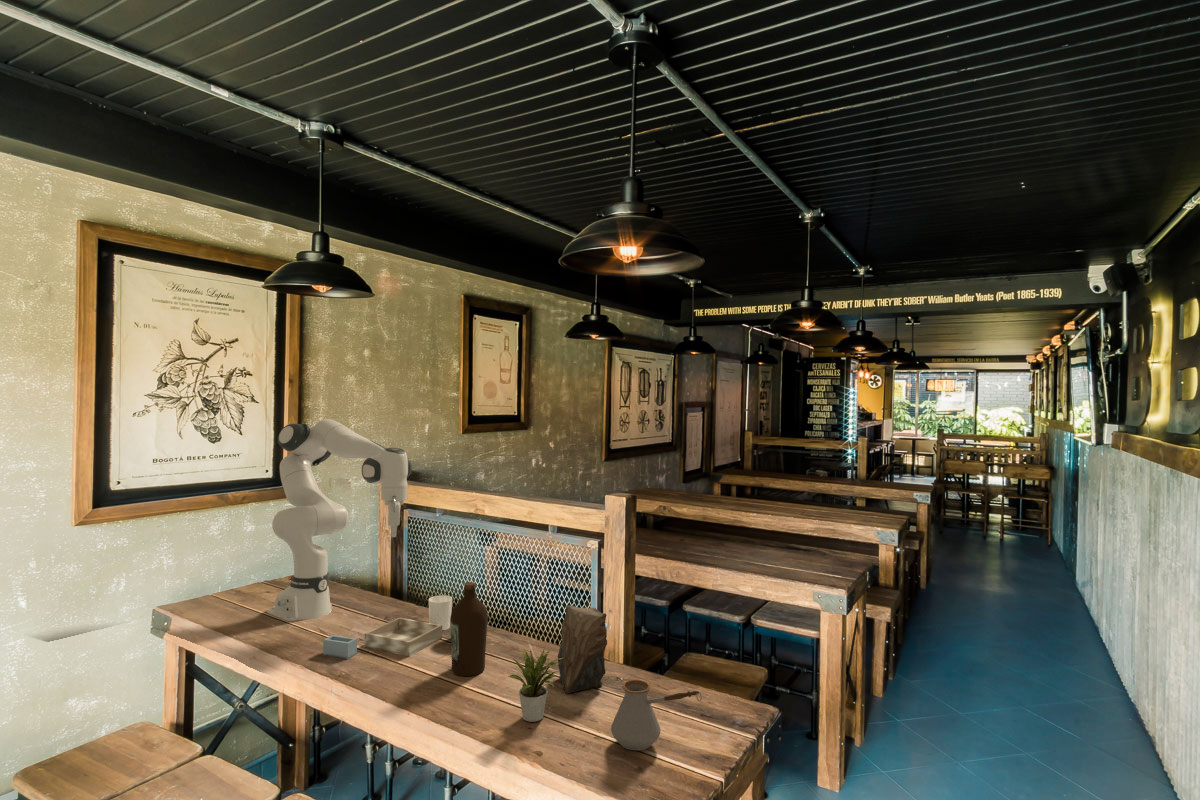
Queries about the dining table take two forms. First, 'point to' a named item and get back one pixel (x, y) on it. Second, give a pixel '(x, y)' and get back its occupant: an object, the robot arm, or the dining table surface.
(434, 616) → the white cup
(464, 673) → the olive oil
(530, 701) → the house plant
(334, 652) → the box
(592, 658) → the brown rock
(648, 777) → the dining table surface
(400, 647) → the beige shallow tray
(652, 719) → the coffee pot
